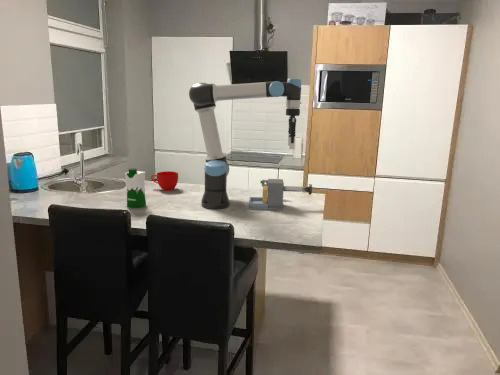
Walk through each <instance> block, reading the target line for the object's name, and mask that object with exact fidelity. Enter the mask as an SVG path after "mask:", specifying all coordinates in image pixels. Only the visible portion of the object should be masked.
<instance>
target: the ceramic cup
mask: <svg viewBox="0 0 500 375" xmlns="http://www.w3.org/2000/svg"><path fill="white" fill-rule="evenodd" d="M153 177H156V180H155V179H154V178H153ZM150 179H151V181H153V182H154V183H155V184H158V186H159V188H161V190H162V191H173V190H174V189H175V188H176V187H177V185H178V182H179V172H177V171H159V172H157V173H156V174H152V175H151V177H150Z"/></svg>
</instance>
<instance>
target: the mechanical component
mask: <svg viewBox="0 0 500 375" xmlns="http://www.w3.org/2000/svg"><path fill="white" fill-rule="evenodd" d="M260 184H261V187H262V188H263V186H268V179H262V180H260Z"/></svg>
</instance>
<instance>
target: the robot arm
mask: <svg viewBox="0 0 500 375" xmlns="http://www.w3.org/2000/svg"><path fill="white" fill-rule="evenodd" d="M286 80H287V81H286V82H283V81H282V82H281V81H279V80H276V81H264V82H261V81H260V82H250V83H248V82H247V83H246V82H245V83H233V84H220V85H219V84H218V85H217V84H215V83H206V82H196V83H194V84H193V85H192V86H191V87H190V88H189V91H188V96H189V99H190V101H191V103H192V104H193V107H194V111H195V112H197V113H198V116H199V122H200V127H201V131H202V137H203V142H204V146H205V150H206V152H205V153H206V157H205V159H204V160H205V164H204V193H203V195H202V198H201V201H200V203H201V204H200V206H201V207H203V208H206V209H208V210H209V209H211V210H217V209H218V210H221V209H226V208H228V207H230V206H231V205H230V204H231V203H230V202H231V201H230V199H229V195H228V192H227V188H228V186H227V181H228V176H229V173H230V165H229V163H228V160H227V155H226V153H224V152H223V149H222V145H221V139H220V134H219V129H218V123H217V120H216V119H217V118H216V114H215V109H216V107H217V105H216V103H217V102H220V101H231V100H232V101H233V100H235V101H236V100H247V99H262V98H263V99H264V98H278V97H279V98H280V97H284V98H285V97H286V103H285V108H286V109H285V115H286V116H289V118H288V130H287V132H288V136H287V137H288V138H287V147H289V150H295V147H296V145H295V144H296V142H295V141H296V136H297V134H296V128H297V118H296V117H299V116H300V115H301V114H300V113H301V104H302V102H301V98H302V96H301V95H302V79H301V78H287V79H286Z"/></svg>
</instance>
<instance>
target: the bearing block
mask: <svg viewBox="0 0 500 375" xmlns="http://www.w3.org/2000/svg"><path fill="white" fill-rule="evenodd" d="M267 180H268V194H267V204H268V209H266V210H267V211H268V210H269V211H270V210H271V211H283V209H284V208H283V207H284V206H283V205H284V204H283V203H284V191H283V189H284V186H285V182H284V179H282V178H268V179H267Z"/></svg>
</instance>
